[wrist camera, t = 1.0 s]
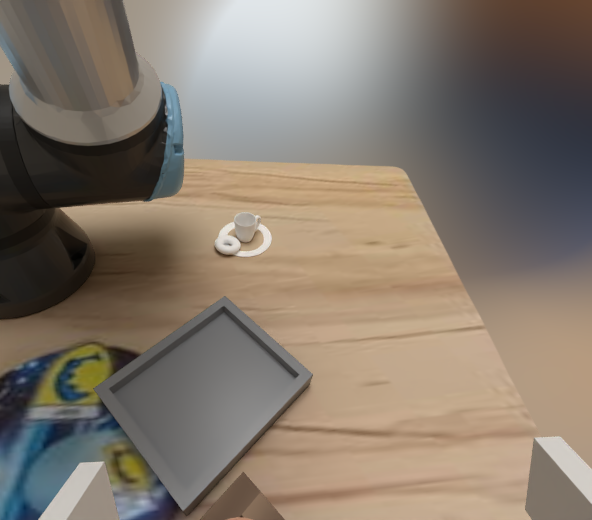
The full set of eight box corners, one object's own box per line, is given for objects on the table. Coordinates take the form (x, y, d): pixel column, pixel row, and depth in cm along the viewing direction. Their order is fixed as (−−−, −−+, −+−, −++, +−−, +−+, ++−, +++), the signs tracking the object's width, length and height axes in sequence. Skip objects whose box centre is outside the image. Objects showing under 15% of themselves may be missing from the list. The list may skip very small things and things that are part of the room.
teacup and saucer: (218, 264, 49) (216, 243, 46) (208, 227, 54) (206, 206, 51) (277, 254, 52) (280, 233, 49) (263, 219, 57) (264, 199, 54)
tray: (101, 399, 35) (93, 388, 33) (225, 308, 44) (224, 295, 42) (186, 516, 29) (182, 511, 28) (309, 384, 38) (312, 374, 37)
